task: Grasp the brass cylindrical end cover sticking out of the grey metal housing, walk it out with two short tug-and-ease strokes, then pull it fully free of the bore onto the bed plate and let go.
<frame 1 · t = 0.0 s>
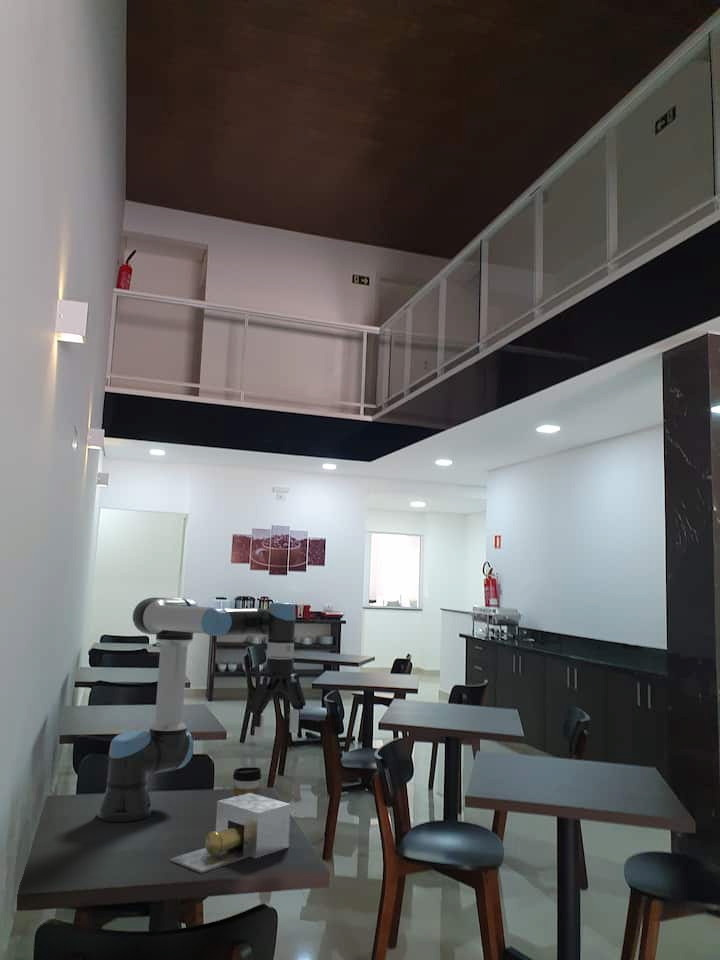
hand: (276, 736, 205), 28 cm above the table, fingers open, 13 cm apart
coffee cup: (244, 822, 219), on the table
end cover: (232, 837, 194), point 4 cm above the table, slide at 0.0 cm
housing: (251, 845, 198), on the table
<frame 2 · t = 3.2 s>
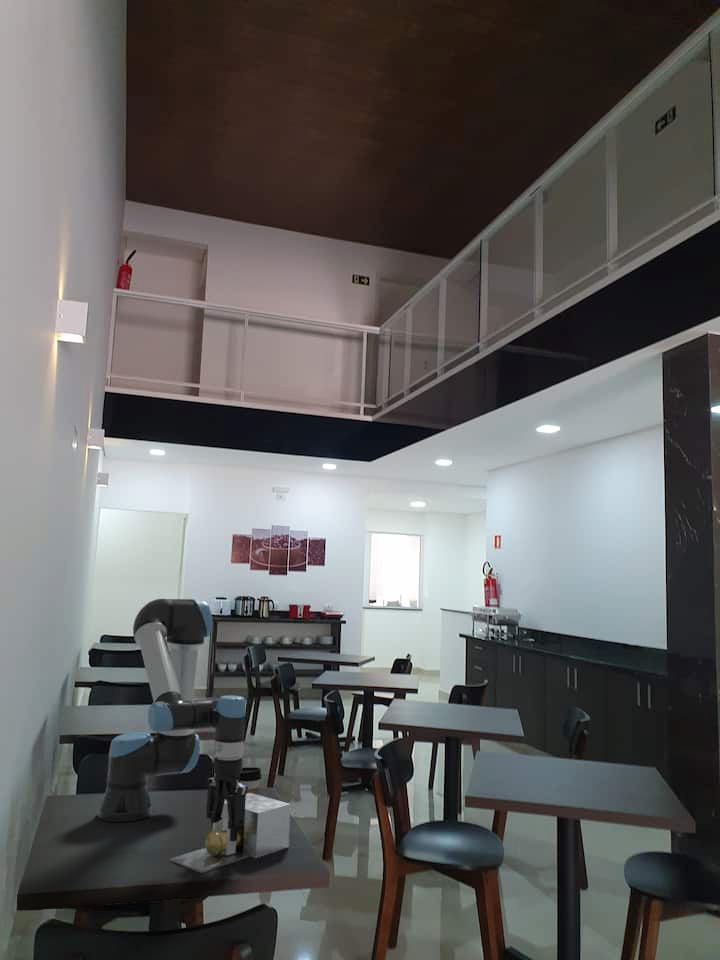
hand: (223, 851, 191), 1 cm above the table, fingers closed on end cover, 5 cm apart
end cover: (232, 837, 194), point 3 cm above the table, slide at 0.0 cm, touching gripper
everything else where it was.
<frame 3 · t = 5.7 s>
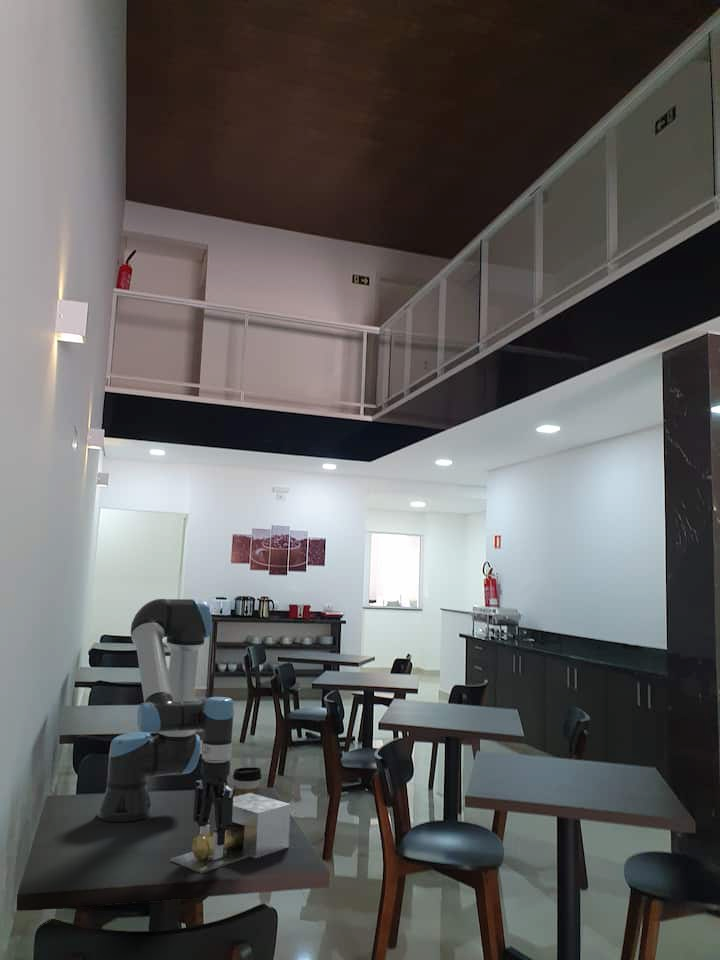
hand: (210, 855, 187), 1 cm above the table, fingers closed on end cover, 5 cm apart
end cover: (220, 841, 190), point 3 cm above the table, slide at 4.3 cm, touching gripper
everything else where it was.
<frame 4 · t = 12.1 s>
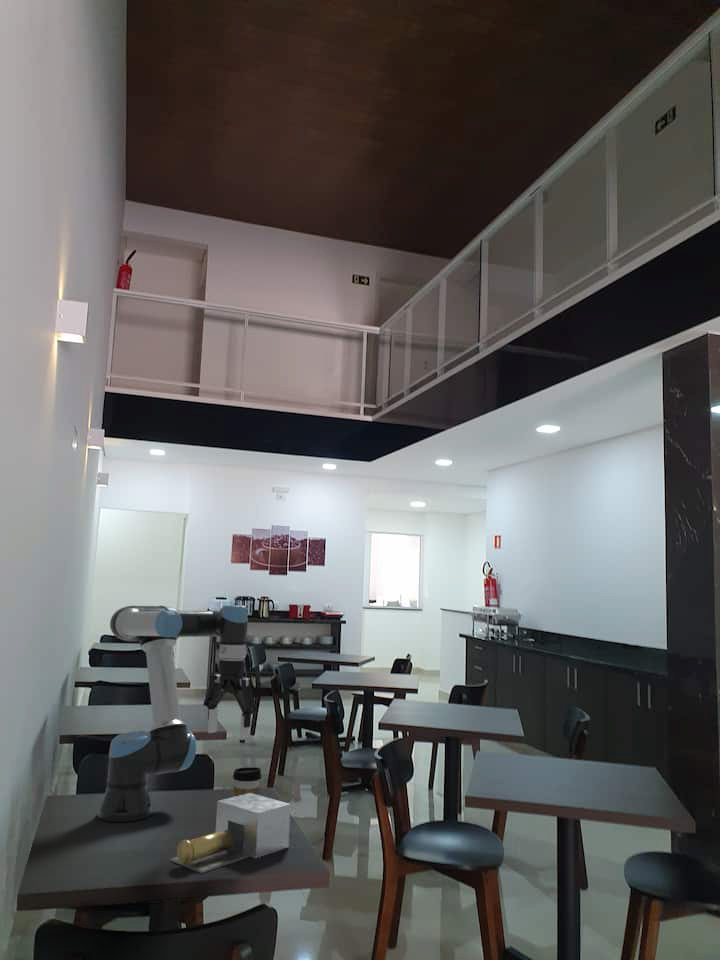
hand: (227, 735, 210), 27 cm above the table, fingers open, 13 cm apart
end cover: (206, 845, 187), point 4 cm above the table, slide at 9.0 cm
everything else where it was.
at the end: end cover slide at 9.0 cm; the gripper is holding nothing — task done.
